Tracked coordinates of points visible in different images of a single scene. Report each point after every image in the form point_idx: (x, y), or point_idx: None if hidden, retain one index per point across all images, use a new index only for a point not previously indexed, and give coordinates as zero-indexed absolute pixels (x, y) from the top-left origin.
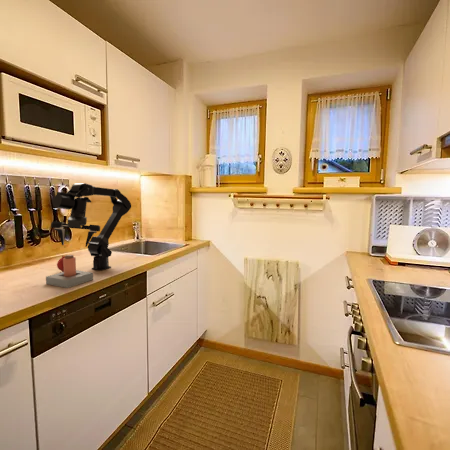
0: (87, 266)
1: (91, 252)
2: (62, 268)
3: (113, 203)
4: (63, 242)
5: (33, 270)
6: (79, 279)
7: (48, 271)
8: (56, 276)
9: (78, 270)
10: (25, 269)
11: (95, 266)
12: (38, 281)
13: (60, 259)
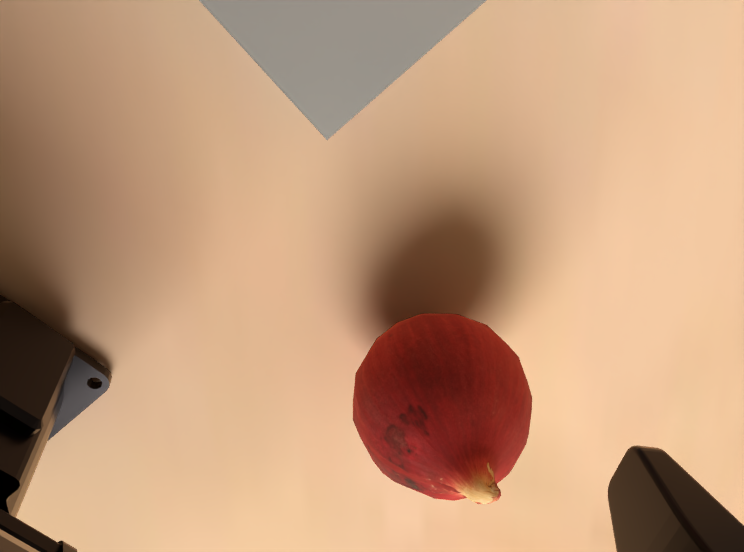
0: (185, 502)
1: (21, 542)
2: (456, 315)
3: None
4: (652, 534)
5: None
6: None
7: (568, 418)
8: None
9: (228, 30)
10: None
11: (29, 339)
12: (707, 21)
13: (510, 434)
